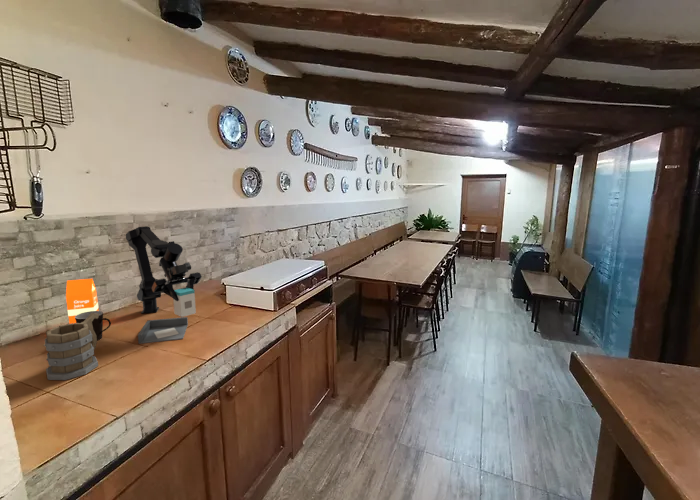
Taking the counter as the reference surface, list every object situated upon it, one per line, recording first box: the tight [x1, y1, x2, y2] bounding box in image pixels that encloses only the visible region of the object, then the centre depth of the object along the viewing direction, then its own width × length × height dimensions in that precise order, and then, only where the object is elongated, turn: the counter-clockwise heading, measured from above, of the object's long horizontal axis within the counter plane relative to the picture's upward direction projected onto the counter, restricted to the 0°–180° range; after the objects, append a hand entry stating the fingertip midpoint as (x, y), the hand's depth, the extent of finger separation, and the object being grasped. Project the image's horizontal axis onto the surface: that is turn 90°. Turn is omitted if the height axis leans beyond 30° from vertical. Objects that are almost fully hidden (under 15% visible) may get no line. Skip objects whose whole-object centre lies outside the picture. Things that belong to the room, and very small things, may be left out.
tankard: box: [43, 313, 99, 381], centre depth 114 cm, size 20×13×15 cm, turn 179°
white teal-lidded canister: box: [172, 286, 197, 318], centre depth 143 cm, size 6×6×10 cm
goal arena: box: [137, 316, 189, 345], centre depth 140 cm, size 15×15×4 cm
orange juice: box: [65, 278, 100, 324], centre depth 146 cm, size 8×9×20 cm
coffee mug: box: [75, 310, 112, 342], centre depth 132 cm, size 12×9×10 cm
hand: (185, 298), depth 142 cm, fingers closed on white teal-lidded canister, 6 cm apart
